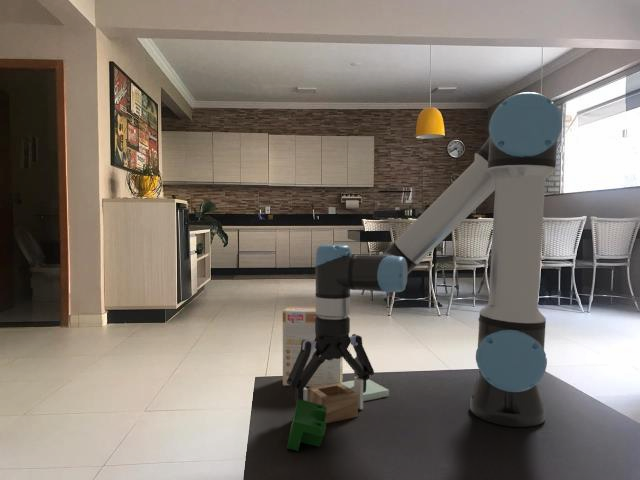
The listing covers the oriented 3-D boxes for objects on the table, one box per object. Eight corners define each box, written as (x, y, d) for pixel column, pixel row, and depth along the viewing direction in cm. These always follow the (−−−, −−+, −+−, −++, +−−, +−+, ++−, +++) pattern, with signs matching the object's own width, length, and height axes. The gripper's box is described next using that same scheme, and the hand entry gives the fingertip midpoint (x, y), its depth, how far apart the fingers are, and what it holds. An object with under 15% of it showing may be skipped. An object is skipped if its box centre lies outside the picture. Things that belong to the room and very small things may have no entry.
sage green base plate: (388, 396, 112) (389, 357, 112) (353, 403, 108) (353, 362, 107) (366, 383, 121) (366, 347, 121) (332, 389, 116) (332, 352, 116)
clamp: (314, 472, 86) (325, 437, 82) (282, 463, 86) (292, 429, 82) (321, 422, 97) (331, 390, 93) (293, 415, 97) (302, 382, 93)
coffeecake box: (343, 379, 124) (343, 307, 124) (340, 389, 117) (340, 311, 117) (288, 377, 126) (288, 305, 126) (282, 386, 119) (282, 310, 119)
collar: (358, 416, 100) (358, 393, 100) (324, 423, 96) (324, 399, 96) (339, 404, 107) (339, 382, 107) (308, 410, 103) (308, 387, 103)
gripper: (371, 308, 110) (370, 397, 111) (272, 317, 99) (271, 416, 99) (390, 314, 103) (388, 408, 104) (285, 324, 92) (285, 430, 93)
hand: (331, 412), depth 102 cm, fingers open, 13 cm apart
